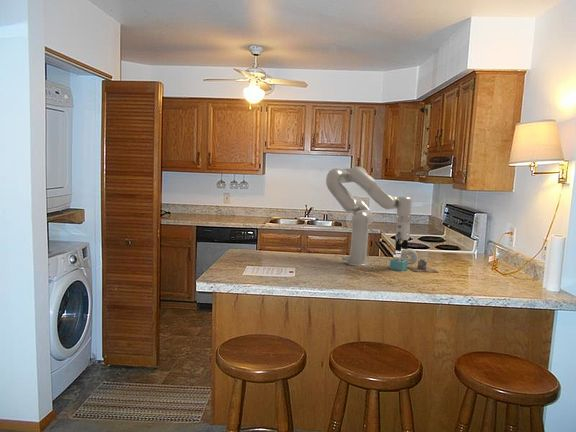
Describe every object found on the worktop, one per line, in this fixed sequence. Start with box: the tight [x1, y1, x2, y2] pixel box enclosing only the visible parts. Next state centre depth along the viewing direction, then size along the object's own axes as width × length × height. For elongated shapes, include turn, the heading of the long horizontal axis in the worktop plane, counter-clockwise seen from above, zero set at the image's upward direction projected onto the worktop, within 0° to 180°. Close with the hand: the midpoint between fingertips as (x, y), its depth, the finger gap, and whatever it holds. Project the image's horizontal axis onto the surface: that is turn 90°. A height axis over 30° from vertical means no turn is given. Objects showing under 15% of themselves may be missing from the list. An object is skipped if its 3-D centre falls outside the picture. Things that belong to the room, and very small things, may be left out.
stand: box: [388, 260, 408, 272], centre depth 244 cm, size 10×10×6 cm
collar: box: [389, 258, 408, 272], centre depth 244 cm, size 7×7×5 cm
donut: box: [400, 248, 419, 265], centre depth 263 cm, size 10×4×10 cm, turn 89°
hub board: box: [407, 258, 439, 274], centre depth 247 cm, size 14×12×7 cm
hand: (401, 249), depth 243 cm, fingers open, 9 cm apart
